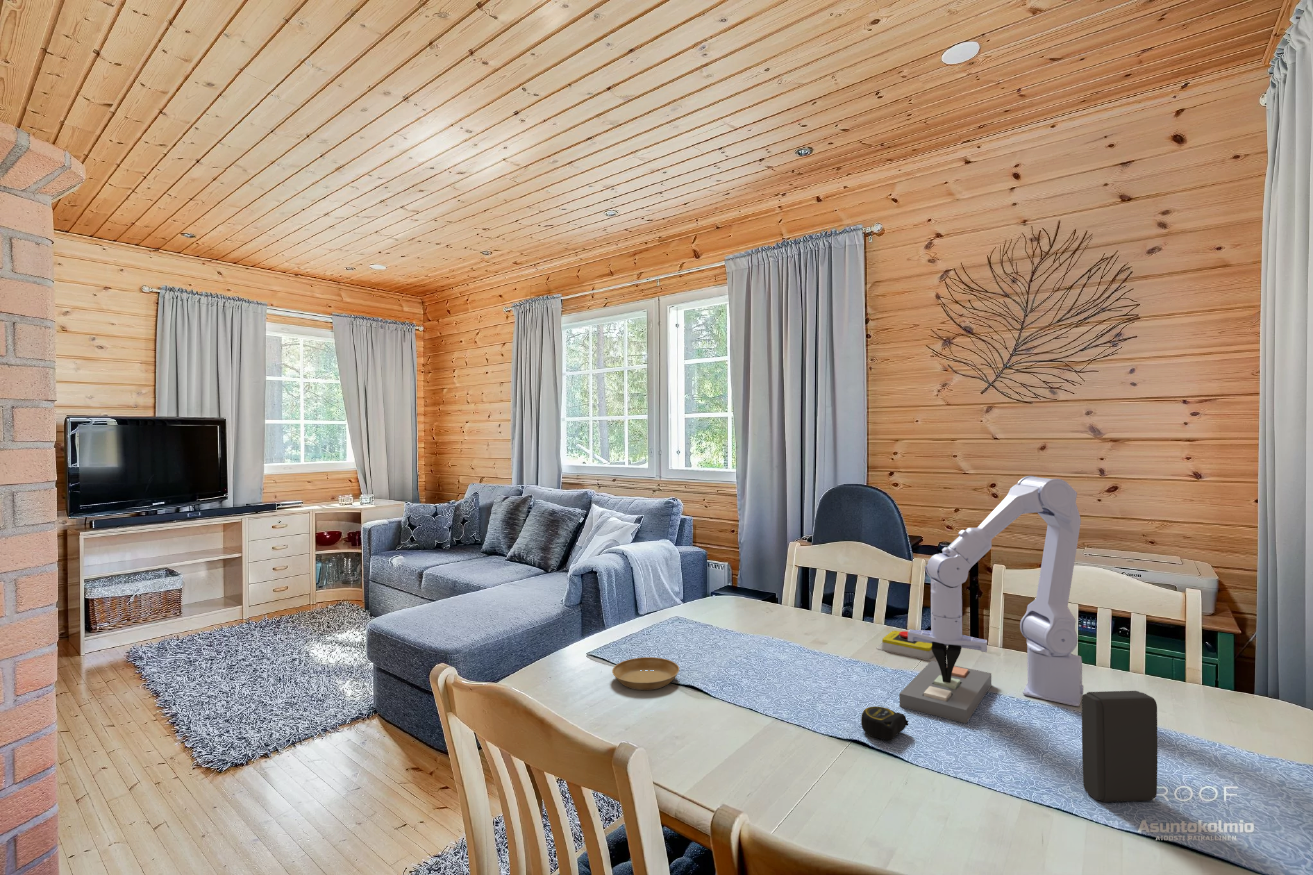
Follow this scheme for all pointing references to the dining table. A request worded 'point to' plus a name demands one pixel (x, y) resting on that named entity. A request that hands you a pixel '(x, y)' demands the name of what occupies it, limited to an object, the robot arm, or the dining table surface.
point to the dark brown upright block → (1119, 745)
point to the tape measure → (882, 722)
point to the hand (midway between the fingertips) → (946, 680)
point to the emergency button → (906, 646)
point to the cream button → (937, 693)
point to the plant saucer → (645, 673)
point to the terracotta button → (960, 672)
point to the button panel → (961, 698)
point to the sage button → (953, 684)
